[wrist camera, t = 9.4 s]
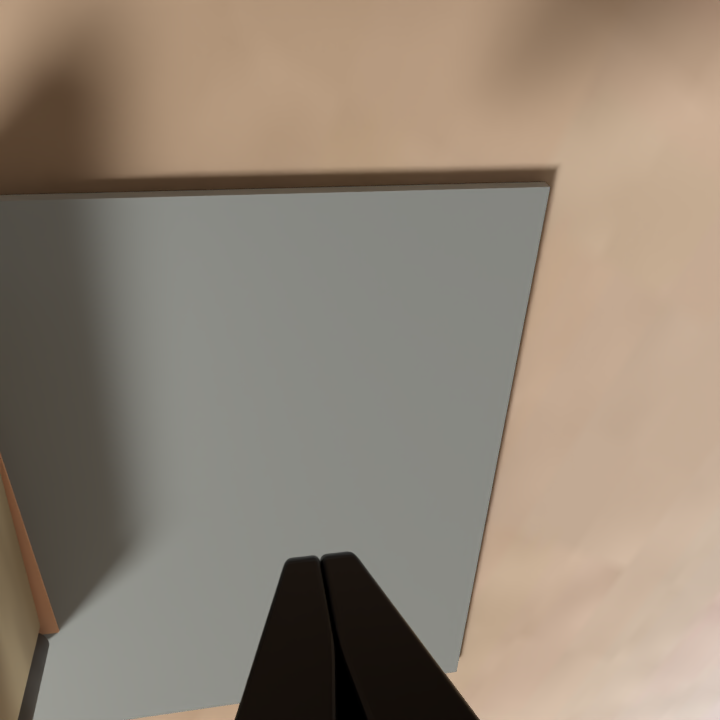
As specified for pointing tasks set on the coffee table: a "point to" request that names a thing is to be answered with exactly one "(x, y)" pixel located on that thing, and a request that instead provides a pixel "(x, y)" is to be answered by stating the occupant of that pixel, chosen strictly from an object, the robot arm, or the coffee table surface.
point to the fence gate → (17, 628)
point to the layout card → (248, 415)
